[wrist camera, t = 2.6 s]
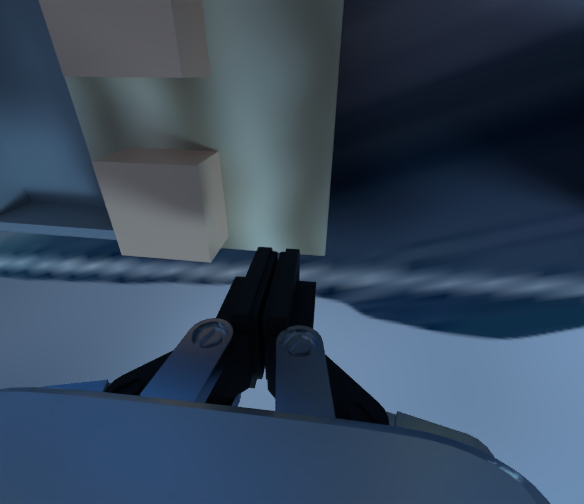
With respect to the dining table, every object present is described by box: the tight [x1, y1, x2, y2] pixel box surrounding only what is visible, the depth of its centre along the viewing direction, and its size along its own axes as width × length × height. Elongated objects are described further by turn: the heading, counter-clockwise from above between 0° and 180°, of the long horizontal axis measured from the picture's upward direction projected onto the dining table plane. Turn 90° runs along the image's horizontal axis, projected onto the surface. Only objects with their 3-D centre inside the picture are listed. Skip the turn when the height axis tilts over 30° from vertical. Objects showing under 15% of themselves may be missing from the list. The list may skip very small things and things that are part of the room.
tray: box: [0, 0, 117, 240], centre depth 22 cm, size 12×18×5 cm, turn 0°
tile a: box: [91, 148, 229, 262], centre depth 19 cm, size 6×6×4 cm
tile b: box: [39, 0, 211, 78], centre depth 14 cm, size 6×6×4 cm
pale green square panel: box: [64, 0, 344, 256], centre depth 20 cm, size 16×18×5 cm
